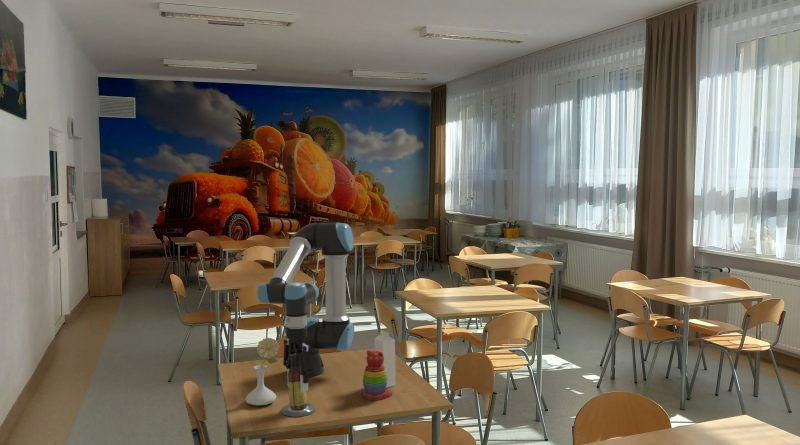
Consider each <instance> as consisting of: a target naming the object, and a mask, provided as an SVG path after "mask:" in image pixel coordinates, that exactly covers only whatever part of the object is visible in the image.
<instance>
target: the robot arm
mask: <svg viewBox="0 0 800 445" xmlns="http://www.w3.org/2000/svg"><path fill="white" fill-rule="evenodd" d="M288 242H289V243H288V249H287V251H286V252H285V254H284V255H283V258H282V259H281V261H280V262H279V263H278V266H277V267H276V269H275V271H274V273H273V274H272V276H271V278H270V280H269V281H268V282H265V283H260V284H259V285H258V287H257V291H256V295H257V300H258V302H260V303H262V304H268V305H270V304H271V305H284V306H285V326H286V327H285V338H286V339H283V346H284V347H283V362H282V365H283V366H284V367H285V368H286V375H287V376H286V377H287V378H288V372H289V370H290V367H291V366H290V365H291V363H290V356H289V355H290V354H293V353H296V356H298V360H299V364H300V368H301V372H302V373H301V374H300V383H301V393H303V392H306V393H307V392H309V377H315V376H319V375H321V374H323V373H324V372H325V364H324V362H323V359H322V356H321V352H320V350H334V351H347V350H348V349H349V348H350V347H351V345H352V343H353V340H354V336H355V324H354V323H353V322H350V320H351V318H350V316H348V314H347V299H346V298H347V296H346V295H347V289H346V287H347V286H346V285H347V284H346V277H347V276H346V259H347V257H348V256H349V255H350V251H352V250H353V249H354V234H353V231H352V228H351V226H350V225H349V224H348V223H345V222H344V223H343V222H313V223H309V224H306V225H305V226H303V227H301V228H300V229H298V230H297V231H296V232H295V233H294V234H293V235H292V237H291V239H290V240H289V241H288ZM311 251H321V256H322V257H323V258H324V264H325V266H324V267H325V268H324V270H325V271H324V272H325V273H324V274H325V278H324V279H325V280H324V281H325V283H324V284H325V315H324V316H323V317H322V318H321V321H320V318H319V317H316V316H310V317H309V316H307V314H308V313H307V306H308V305H310V304H313V303H314V302H315V301H316V300H317V299H318V297H319V294H320V293H319V292H320V291H319V288H318V287H317V285H316V284H314V283H313V282H308V283H307V282H306V283H303V282H293V280H294V279H295V278H294V277H296V274H297V272H298V271H299V269H300V266H301V265H302V263H303V260H304V259H305V257H306V256H308V255H309V254H310V253H311ZM287 387H288V388H289V386H288V385H287Z"/></svg>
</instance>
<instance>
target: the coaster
mask: <svg viewBox="0 0 800 445" xmlns="http://www.w3.org/2000/svg"><path fill="white" fill-rule="evenodd" d="M315 411H316V407H315V405H314V404H312V403H309V402H307V407H306V408H305V409H302V410H293V409H291V408H290V403H289V404H285V405H284V406H283V407H281V414H282V413H283V414H284V415H283V414H282V415H283V416H285V415H287V416H286V417H289V416H291V417H292V418H300V417H306V416H309V415H311V414H313V413H315ZM291 417H290V418H291Z"/></svg>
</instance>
